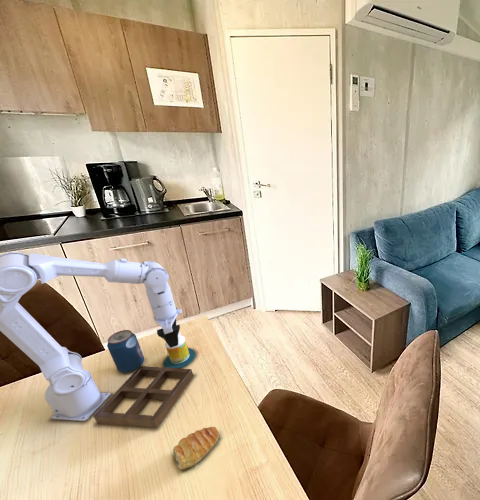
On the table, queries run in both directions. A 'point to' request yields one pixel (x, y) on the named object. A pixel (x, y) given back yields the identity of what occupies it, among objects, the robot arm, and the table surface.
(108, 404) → the rack
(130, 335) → the soda can
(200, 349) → the table surface
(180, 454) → the pastry
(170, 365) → the coaster
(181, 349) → the supplement bottle
